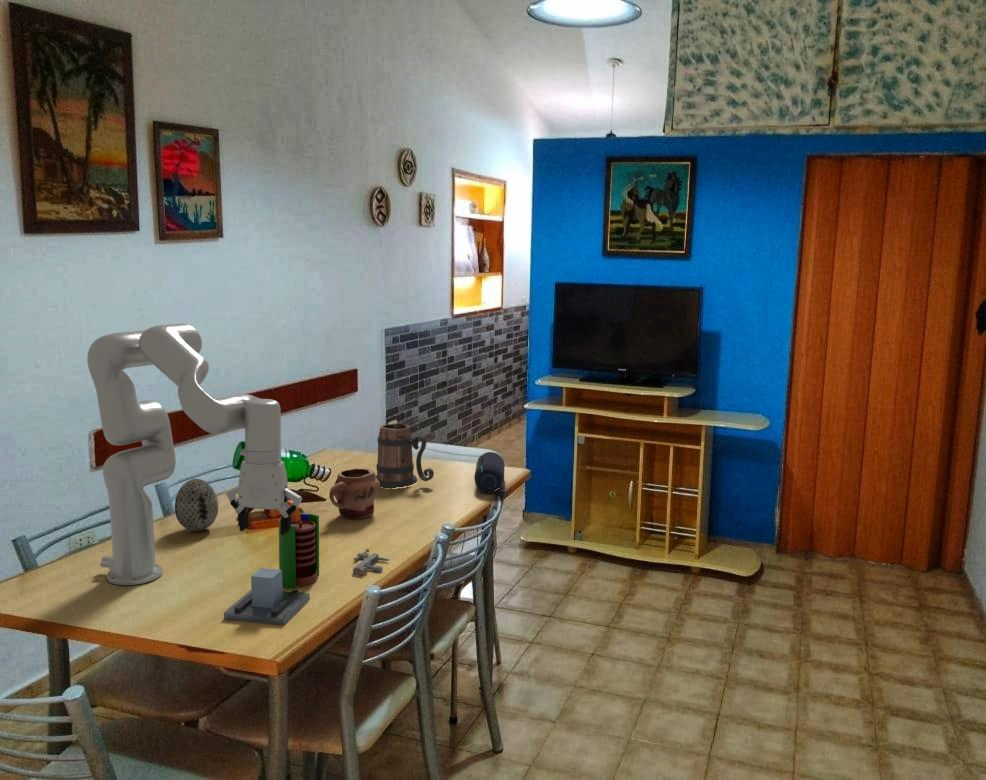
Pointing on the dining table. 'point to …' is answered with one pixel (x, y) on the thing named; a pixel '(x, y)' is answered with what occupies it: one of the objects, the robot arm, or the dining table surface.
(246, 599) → the mounting bracket
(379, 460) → the tankard
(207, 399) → the robot arm
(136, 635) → the dining table surface
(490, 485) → the portable speaker
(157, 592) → the dining table surface
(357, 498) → the clay mug
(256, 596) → the slate grey block
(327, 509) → the dining table surface
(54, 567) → the dining table surface
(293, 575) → the motor
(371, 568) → the clamp
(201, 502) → the decorative egg
